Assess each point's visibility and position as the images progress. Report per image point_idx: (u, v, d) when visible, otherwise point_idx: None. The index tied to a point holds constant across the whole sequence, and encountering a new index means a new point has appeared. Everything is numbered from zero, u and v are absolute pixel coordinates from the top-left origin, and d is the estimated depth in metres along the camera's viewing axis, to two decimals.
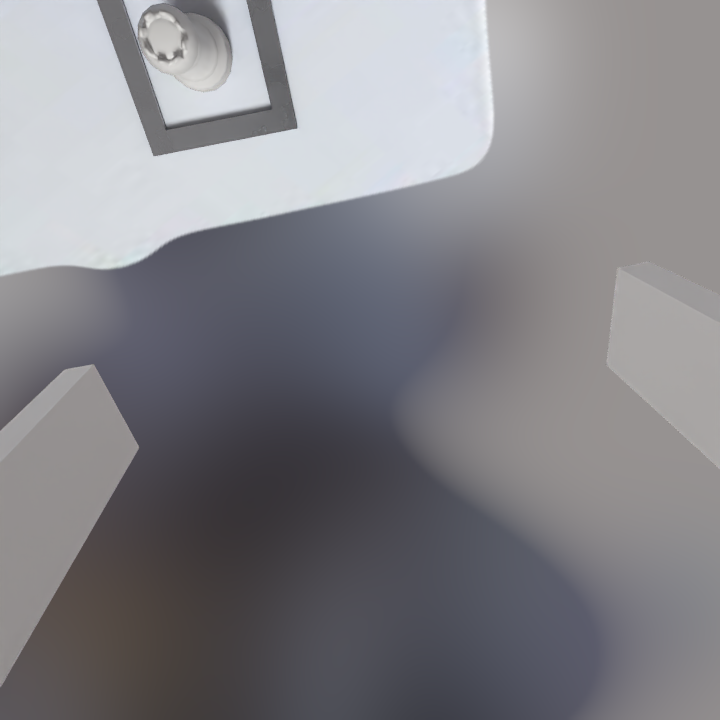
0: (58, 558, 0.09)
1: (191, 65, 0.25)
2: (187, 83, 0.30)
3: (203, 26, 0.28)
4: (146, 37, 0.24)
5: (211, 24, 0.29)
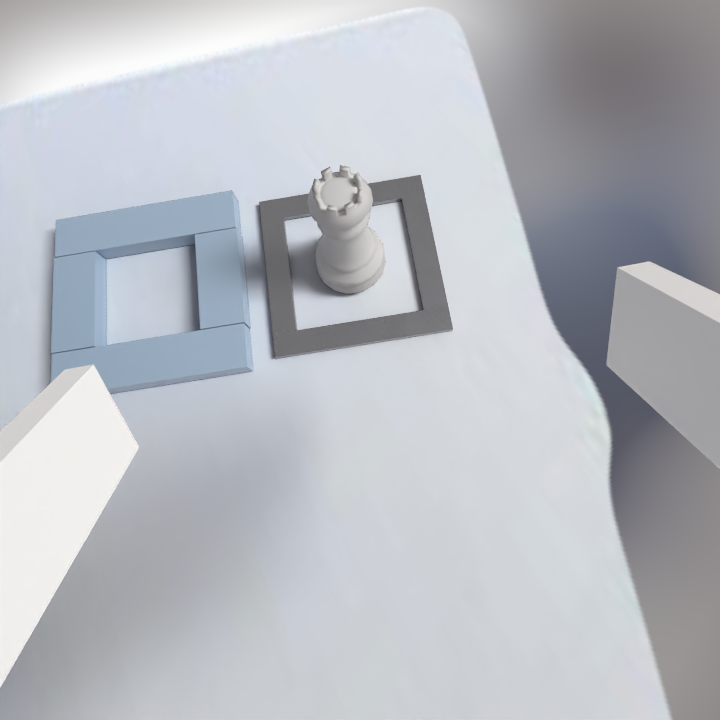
0: (59, 558, 0.09)
1: (363, 180, 0.22)
2: (377, 260, 0.27)
3: None
4: (336, 211, 0.21)
5: None
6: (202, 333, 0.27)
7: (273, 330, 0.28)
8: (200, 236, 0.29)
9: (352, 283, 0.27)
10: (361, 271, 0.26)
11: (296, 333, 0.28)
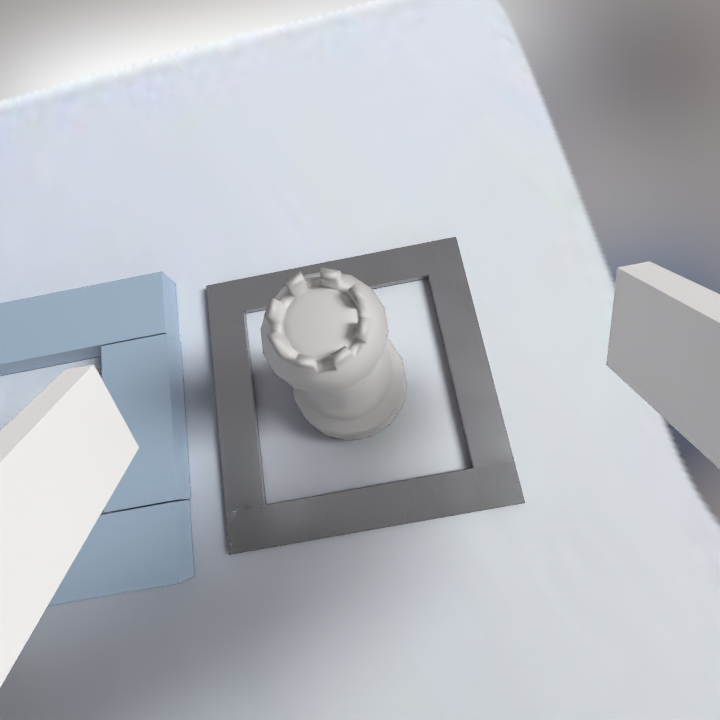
0: (58, 558, 0.09)
1: (369, 288, 0.11)
2: (395, 394, 0.16)
3: None
4: (316, 361, 0.11)
5: None
6: (106, 521, 0.16)
7: (226, 505, 0.17)
8: (110, 349, 0.18)
9: (353, 432, 0.16)
10: (368, 415, 0.16)
11: (264, 511, 0.17)
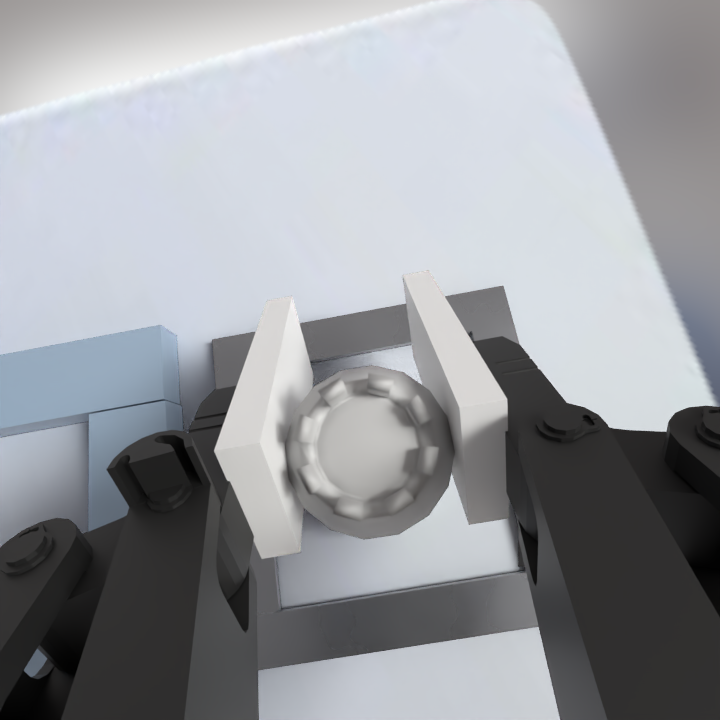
0: None
1: (427, 391, 0.09)
2: None
3: None
4: (361, 501, 0.08)
5: None
6: None
7: None
8: (99, 417, 0.15)
9: None
10: None
11: (279, 619, 0.14)
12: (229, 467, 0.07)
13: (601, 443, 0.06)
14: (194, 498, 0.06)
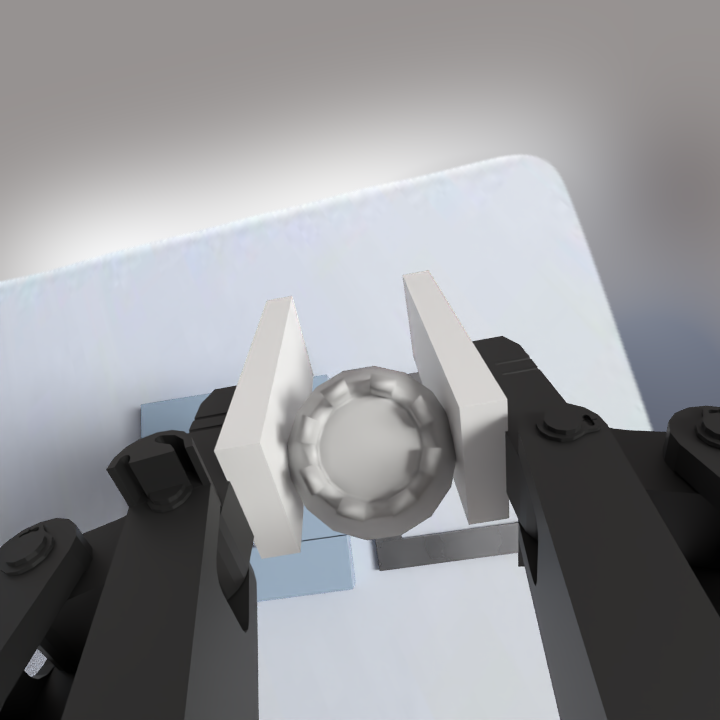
0: None
1: (430, 392, 0.09)
2: None
3: None
4: (365, 502, 0.08)
5: None
6: (302, 546, 0.25)
7: None
8: None
9: None
10: None
11: (402, 543, 0.25)
12: (229, 467, 0.07)
13: (601, 443, 0.06)
14: (194, 498, 0.06)
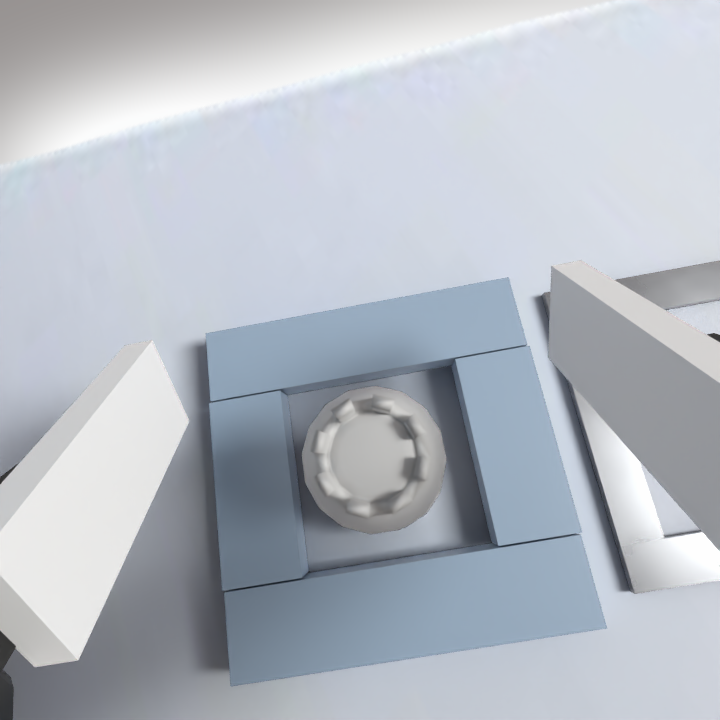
0: (133, 514, 0.10)
1: (423, 408, 0.10)
2: None
3: None
4: (369, 502, 0.09)
5: None
6: (504, 555, 0.15)
7: (620, 537, 0.15)
8: (466, 362, 0.16)
9: None
10: None
11: (666, 545, 0.15)
12: None
13: None
14: None
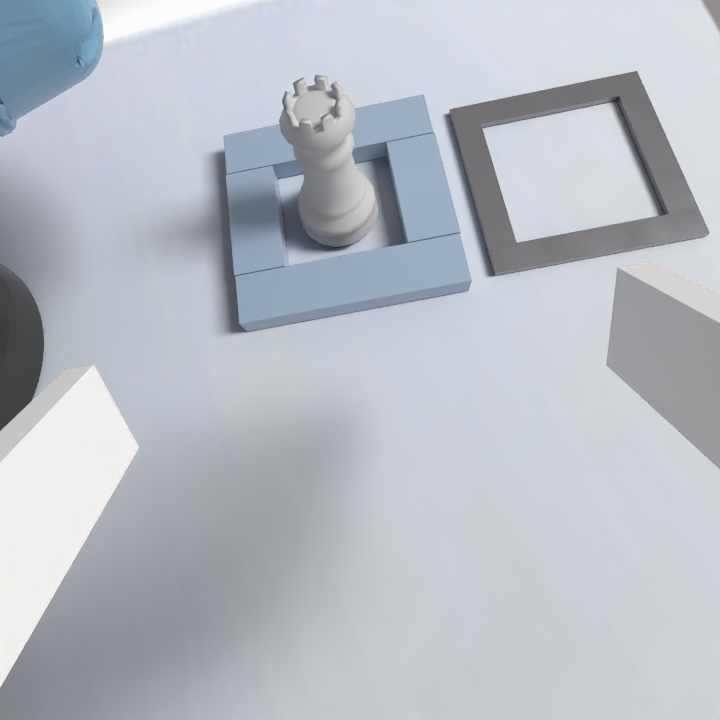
0: (59, 558, 0.09)
1: None
2: (368, 205, 0.23)
3: None
4: (312, 128, 0.18)
5: None
6: (411, 246, 0.23)
7: (488, 244, 0.24)
8: (393, 144, 0.25)
9: (340, 232, 0.23)
10: (349, 217, 0.23)
11: (517, 246, 0.24)
12: None
13: None
14: None
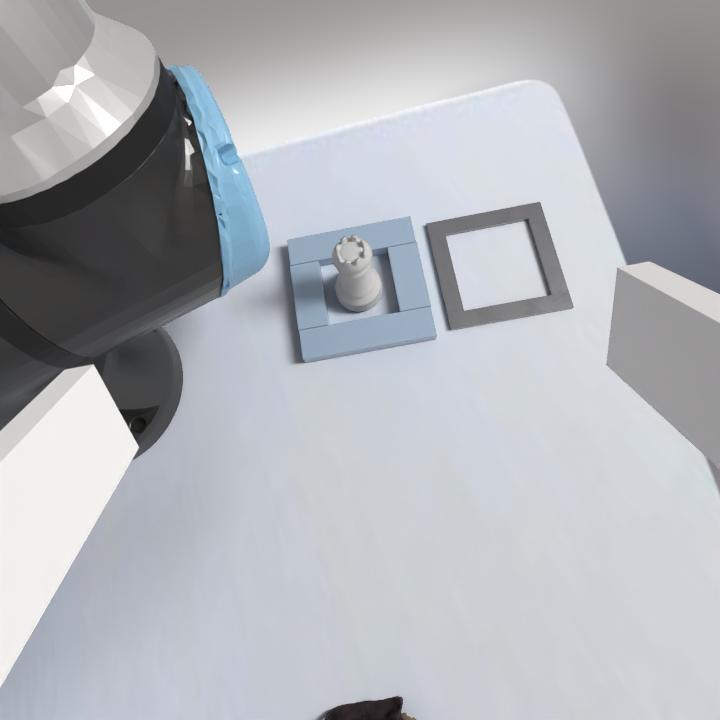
0: (59, 558, 0.09)
1: (366, 242, 0.35)
2: (377, 289, 0.40)
3: None
4: (350, 263, 0.35)
5: None
6: (402, 314, 0.40)
7: (447, 311, 0.40)
8: (391, 248, 0.42)
9: (360, 305, 0.40)
10: (366, 297, 0.40)
11: (464, 313, 0.40)
12: None
13: None
14: None
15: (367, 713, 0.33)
